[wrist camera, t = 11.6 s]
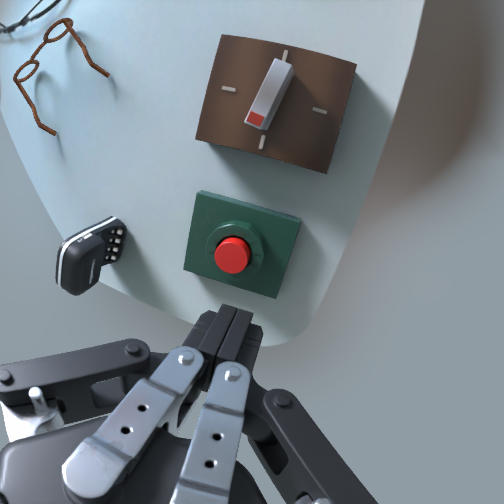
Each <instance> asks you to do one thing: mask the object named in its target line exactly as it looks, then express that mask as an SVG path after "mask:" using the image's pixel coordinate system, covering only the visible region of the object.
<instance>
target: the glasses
mask: <svg viewBox="0 0 504 504" xmlns="http://www.w3.org/2000/svg"><path fill="white" fill-rule="evenodd" d="M68 22H69V23H68ZM61 23H64V25H65V26H66V27H67V29H66V30H65V31H64V32H63V33H62V34H61V35H59V36H58V37H56V38H53V39H48V35H49V33H50V32H51V31H52V30H53V29H54V28H55V27H56V26H57V25H59V24H61ZM72 26H73V21H72V19H70V18H63V19H61V20H58V21H57V22H55V23H54V24H53V25H52V26H51V27H50V28H49V29H48V30H47V31H46V33H45V35H44V38H43V40H44V42H43V43H42V44H41V45H40V46H39V47H38V48H37V49H36V51H35V52H34V53H33V55H32V56H31V58H30V60H29V61H27V62H26V63H24V64H23V65H22V66H21V67H20V68H19V69H18V70H17V71H16V73H15V74H14V77H13V81H14V82H15V83H16V85H17V86H18V88H19V90H20V91H21V93H22V94H23V96H24V98H25V99H26V101H27V102H28V104H29V106H30V107H31V109H32V112H33V115H34V118H35V121H36V123H37V125H38V127H40V128H41V129H43V130H45V131H47V132H48V133H50V134H52V135H53V136H55V135H56V133H57V132H56V131H54V130H52V129H51V128H49V127H47V126H45V125H44V124H42V123H41V122H40V119H39V117H38V115H37V111H36V107H35V105H34V104H33V102H32V101H31V99H30V98H29V96H28V94H27V93H26V91H25V90H24V88H23V86H22V85H21V82H24V81H25V80H27V79H29V78H30V77H31V76H32V75H33V74H34V73H35V72H36V70H37V69H38V67H39V62H38V61H37V60H34V58H35V56H36V55H37V54H38V53H39V51H40V50H41V49H42V47H43V46H44V45H45V44H47V43H51V42H55V41H57V40H59V39H61V38H62V37H63V36H65V35H66V34H67V33H68V32H70V33H71V34H72V36H73V37H74V38H75V40H76V41H77V43H78V44H79V45H80V47H81V48H82V51H83V53H84V56H85V58H86V60H87V61H88V63H89V65H90V66H91V67H92V68H94V69H95V70H97V71H98V72H100V73H101V74H103V75H104V76H105V77H107V78H108V77H109V76H110V74H109V73H108V72H106V71H105V70H104V69H102V68H101V67H99V66H98V65H96V64H95V63H93V61H92V59H91V58H90V56H89V54H88V51H87V49H86V46H85V45H84V44H83V42H82V41H81V39H80V38H79V37H78V35H77V34H76V33H75V31H74V30H73V28H72ZM29 64H36V65H35V68H34V69H33V71H32V72H31V73H30V74H29V75H27V76H26V77H24V78H22V79H17V76H18V74H19V73H20V71H21V70H22V69H23V68H24V67H26V66H27V65H29Z"/></svg>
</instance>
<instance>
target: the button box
mask: <svg viewBox="0 0 504 504" xmlns="http://www.w3.org/2000/svg"><path fill="white" fill-rule="evenodd" d="M300 223H301V218H297V217H294V216H291V215H287V214H284V213H281V212H277V211H274V210H271V209H267V208H264V207H260V206H257V205H253V204H250V203H246V202H243V201H239V200H236V199H232V198H229V197H225V196H221V195H218V194H214V193H210V192H207V191H203V190H201V191H200V192H198V193H197V195H196V200H195V205H194V211H193V216H192V222H191V227H190V233H189V239H188V244H187V250H186V256H185V263H184V270H186V271H189V272H192V273H195V274H198V275H201V276H205V277H208V278H211V279H214V280H217V281H220V282H223V283H226V284H229V285H232V286H236V287H239V288H242V289H245V290H248V291H252V292H255V293H258V294H261V295H265V296H268V297H271V298H274V299H276V297H277V294H278V291H279V288H280V285H281V282H282V279H283V276H284V273H285V270H286V267H287V264H288V261H289V258H290V255H291V252H292V249H293V246H294V242H295V239H296V236H297V233H298V230H299V227H300ZM230 237H237V238H240V239H242V240H243V241H245V242H246V243H247V245H248V246H249V248H250V253H251V254H250V259H249V261H248V263H247V265H246V267H245V268H244V269H243V270H242V271H241V272H239V273H234V274H231V273H227V272H225V271H223V270H221V269H220V268H219V267H218V265H217V264H216V261H215V251H216V249H217V248H218V246H219V245H220V244H221V243H222V242H223V241H224V240H225V239H227V238H230Z"/></svg>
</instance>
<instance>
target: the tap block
mask: <svg viewBox="0 0 504 504" xmlns="http://www.w3.org/2000/svg"><path fill="white" fill-rule="evenodd" d="M275 58H276V59H278V60H281V61H283V62H286V63H288V64H291V65H292V67H293V70H294V76H293V78H292V80H291V82H290V84H289V86H288V88H287V90H286V92H285V95H284V97H283V99H282V101H281V103H280V105H279V107H278V109H277V111H276V113H275V115H274V117H273V119H272V121H271V123H270V125H269V127H268V130H261V129H258V128H256V127H254V126H251V125H249V124H247V123H245V122H244V121H245V119H246V117H247V115H248V113H249V111H250V109H251V106H252V104H253V102H254V100H255V98H256V96H257V94H258V92H259V90H260V88H261V86H262V84H263V82H264V79H265V77H266V75H267V73H268V71H269V69H270V67H271V65H272V63H273V61H274V59H275ZM356 66H357V64H355V63H352V62H349V61H345V60H342V59H339V58H336V57H332V56H329V55H325V54H321V53H318V52H314V51H310V50H306V49H302V48H298V47H293V46H289V45H284V44H279V43H275V42H269V41H264V40H258V39H252V38H246V37H239V36H232V35H224V34H222V35H221V38H220V42H219V45H218V49H217V52H216V56H215V60H214V63H213V67H212V71H211V75H210V79H209V82H208V86H207V90H206V94H205V99H204V103H203V107H202V111H201V115H200V120H199V124H198V129H197V133H196V138H195V139H196V140H200V141H204V142H209V143H213V144H218V145H222V146H226V147H230V148H235V149H239V150H243V151H247V152H251V153H254V154H258V155H262V156H266V157H269V158H273V159H277V160H280V161H284V162H287V163H291V164H294V165H298V166H301V167H304V168H308V169H311V170H314V171H318V172H321V173H324V174H327V171H328V168H329V164H330V161H331V158H332V154H333V151H334V147H335V144H336V140H337V137H338V133H339V130H340V126H341V123H342V119H343V115H344V112H345V108H346V104H347V101H348V97H349V93H350V89H351V86H352V82H353V78H354V74H355V70H356Z"/></svg>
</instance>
